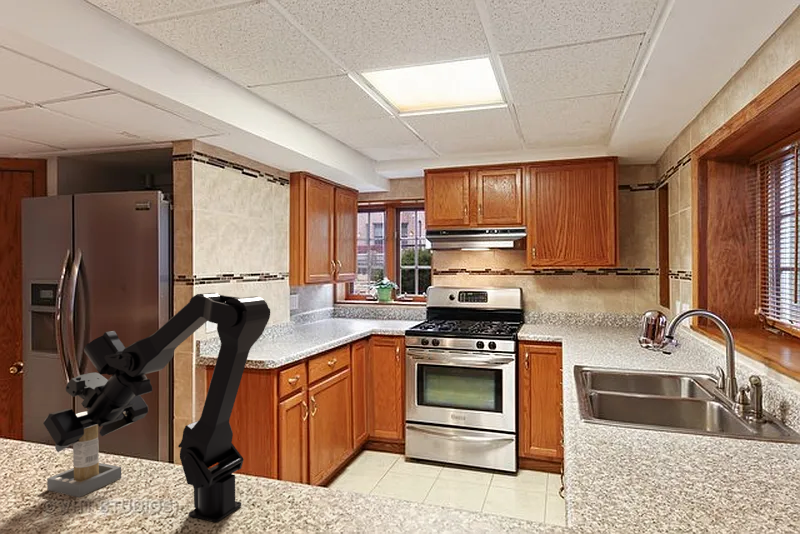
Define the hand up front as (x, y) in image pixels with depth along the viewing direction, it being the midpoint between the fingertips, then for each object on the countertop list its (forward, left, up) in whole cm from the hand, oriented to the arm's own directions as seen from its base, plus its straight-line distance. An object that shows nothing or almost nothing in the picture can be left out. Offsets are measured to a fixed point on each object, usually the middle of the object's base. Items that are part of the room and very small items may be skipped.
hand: (80, 441), depth 99 cm
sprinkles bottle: (-2, 0, -8) cm, 8 cm away
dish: (-1, 0, -8) cm, 8 cm away
